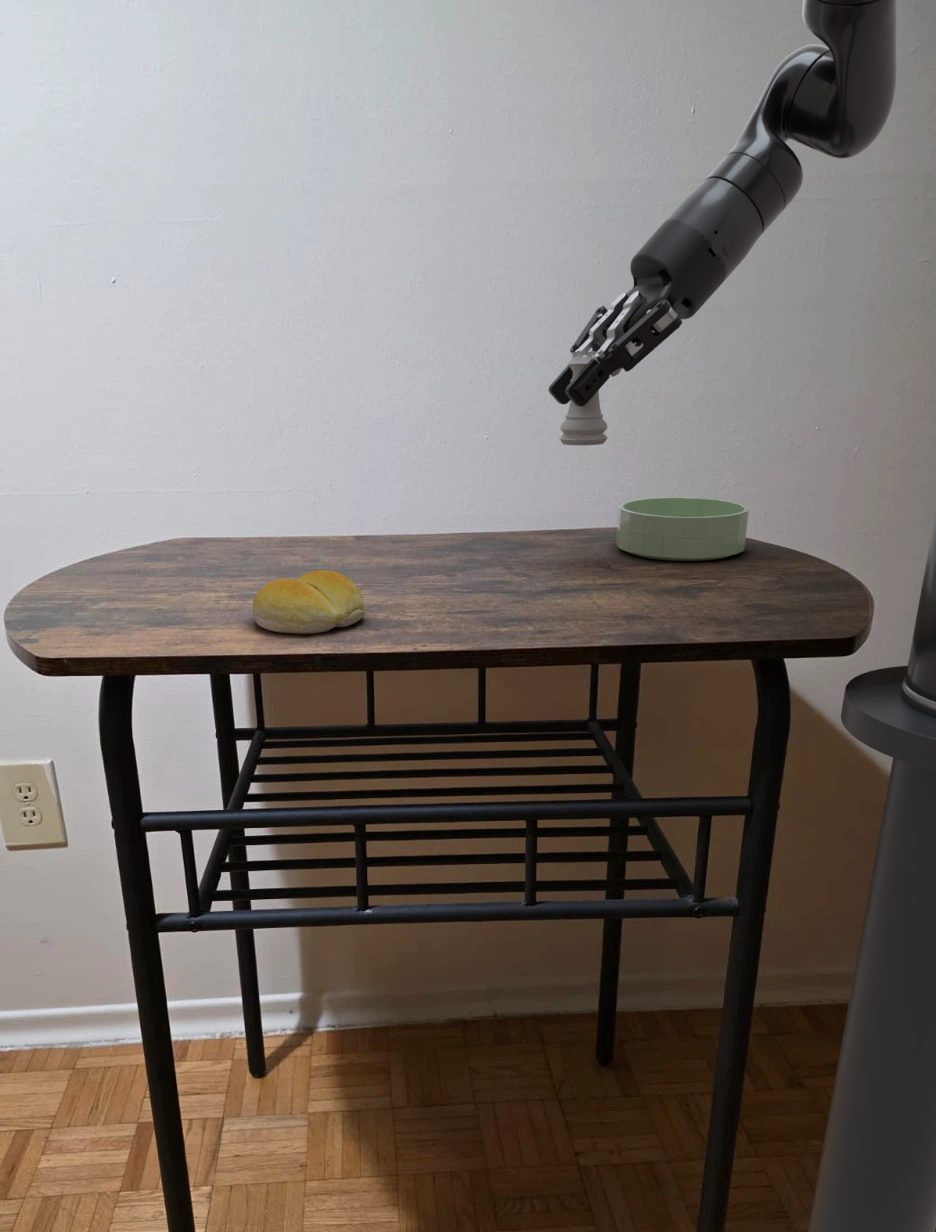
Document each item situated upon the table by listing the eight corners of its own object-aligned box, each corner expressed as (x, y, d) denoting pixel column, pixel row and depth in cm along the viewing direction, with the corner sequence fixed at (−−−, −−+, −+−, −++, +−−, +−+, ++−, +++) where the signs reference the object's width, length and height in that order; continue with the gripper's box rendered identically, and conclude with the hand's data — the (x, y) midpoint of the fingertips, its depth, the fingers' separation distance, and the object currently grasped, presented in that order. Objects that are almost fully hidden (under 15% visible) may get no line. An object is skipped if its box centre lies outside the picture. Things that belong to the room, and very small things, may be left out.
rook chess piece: (559, 446, 89) (561, 352, 86) (558, 441, 93) (561, 352, 90) (609, 445, 88) (613, 351, 85) (606, 440, 92) (610, 350, 89)
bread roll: (237, 621, 80) (233, 573, 79) (330, 603, 85) (328, 558, 84) (284, 643, 74) (280, 592, 73) (382, 623, 79) (380, 575, 77)
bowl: (769, 557, 98) (775, 512, 96) (653, 567, 95) (656, 521, 94) (702, 534, 110) (705, 494, 108) (596, 542, 107) (598, 501, 105)
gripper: (633, 226, 91) (510, 368, 93) (713, 205, 79) (568, 370, 80) (680, 286, 94) (559, 422, 96) (764, 276, 82) (623, 433, 83)
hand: (564, 398), depth 88 cm, fingers closed on rook chess piece, 3 cm apart
